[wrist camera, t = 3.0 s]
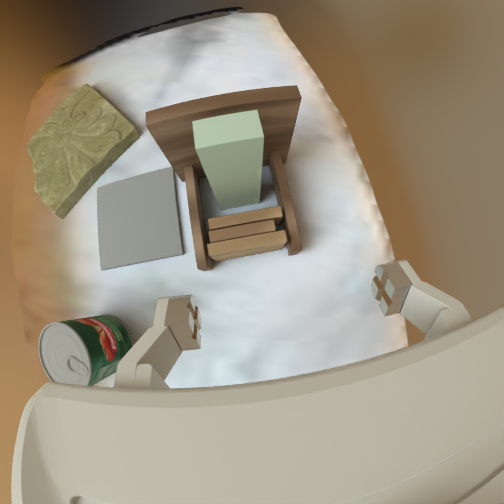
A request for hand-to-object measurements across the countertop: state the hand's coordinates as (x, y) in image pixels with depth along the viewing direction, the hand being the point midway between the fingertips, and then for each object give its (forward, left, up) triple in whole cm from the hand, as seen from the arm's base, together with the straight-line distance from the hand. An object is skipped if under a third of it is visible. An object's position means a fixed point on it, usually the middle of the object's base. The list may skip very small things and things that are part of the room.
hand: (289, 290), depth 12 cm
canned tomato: (-4, +22, -22) cm, 31 cm away
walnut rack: (+10, +1, -21) cm, 24 cm away
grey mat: (+12, +15, -21) cm, 29 cm away
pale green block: (+12, +1, -22) cm, 25 cm away
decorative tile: (+28, +27, -22) cm, 45 cm away
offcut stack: (+6, +1, -21) cm, 22 cm away
